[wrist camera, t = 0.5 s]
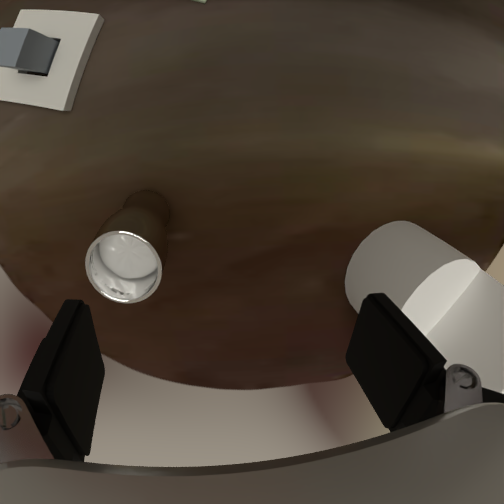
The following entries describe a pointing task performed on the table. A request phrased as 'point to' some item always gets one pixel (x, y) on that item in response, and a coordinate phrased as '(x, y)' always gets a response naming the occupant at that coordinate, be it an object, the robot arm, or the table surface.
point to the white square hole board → (64, 63)
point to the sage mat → (201, 1)
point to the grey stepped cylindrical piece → (435, 295)
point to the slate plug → (26, 50)
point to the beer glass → (130, 249)
